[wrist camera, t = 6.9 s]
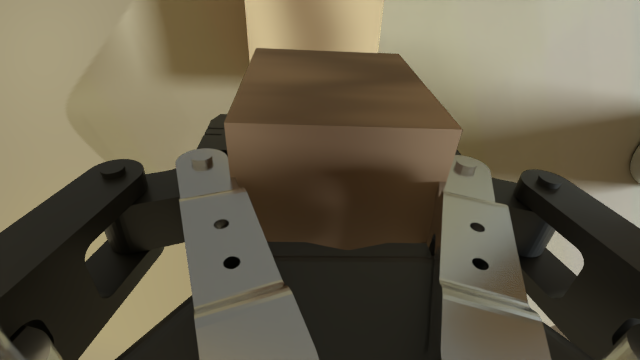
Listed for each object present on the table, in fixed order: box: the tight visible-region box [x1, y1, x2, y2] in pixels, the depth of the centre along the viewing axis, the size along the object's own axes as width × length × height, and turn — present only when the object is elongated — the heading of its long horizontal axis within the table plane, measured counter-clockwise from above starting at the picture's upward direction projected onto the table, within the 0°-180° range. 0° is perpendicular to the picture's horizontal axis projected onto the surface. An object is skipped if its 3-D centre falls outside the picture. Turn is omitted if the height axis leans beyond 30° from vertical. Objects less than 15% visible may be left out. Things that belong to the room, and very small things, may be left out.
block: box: [224, 48, 463, 250], centre depth 11 cm, size 5×5×6 cm
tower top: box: [244, 0, 384, 61], centre depth 23 cm, size 8×8×4 cm
